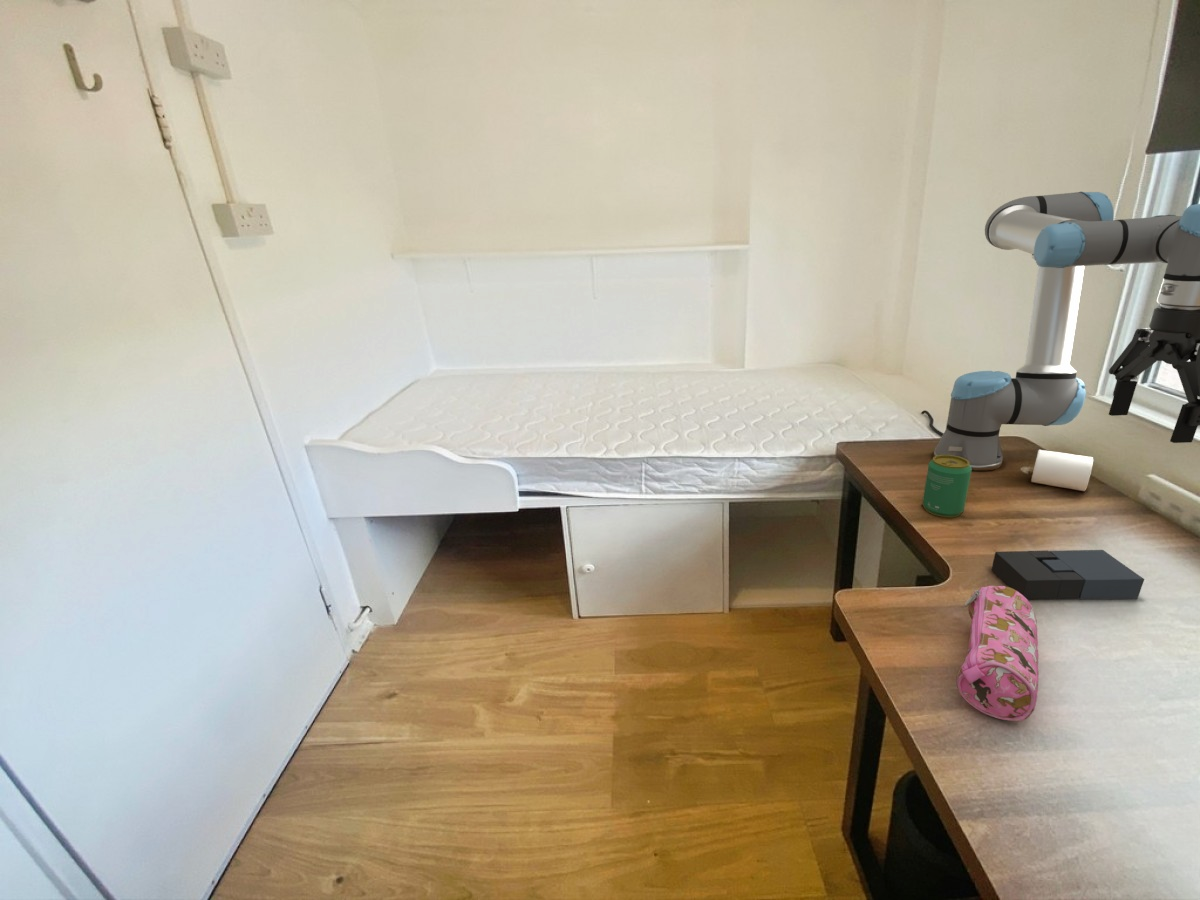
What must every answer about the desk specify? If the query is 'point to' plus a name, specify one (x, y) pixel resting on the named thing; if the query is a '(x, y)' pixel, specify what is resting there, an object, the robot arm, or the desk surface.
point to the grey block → (1097, 574)
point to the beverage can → (946, 485)
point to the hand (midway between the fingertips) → (1147, 427)
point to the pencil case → (1001, 654)
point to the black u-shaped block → (1035, 576)
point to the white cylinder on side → (1062, 470)
